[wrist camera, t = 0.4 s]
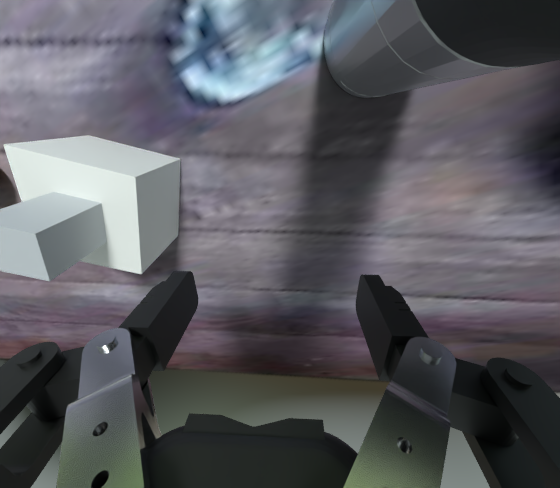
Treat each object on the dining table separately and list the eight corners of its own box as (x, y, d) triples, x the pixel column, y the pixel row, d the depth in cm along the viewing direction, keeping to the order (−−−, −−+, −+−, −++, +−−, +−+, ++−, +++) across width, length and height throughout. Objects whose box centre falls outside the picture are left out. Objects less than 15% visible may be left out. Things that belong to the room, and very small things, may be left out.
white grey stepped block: (88, 135, 26) (-113, 156, 13) (180, 158, 27) (75, 200, 14) (101, 217, 31) (-37, 291, 18) (178, 235, 32) (99, 319, 19)
